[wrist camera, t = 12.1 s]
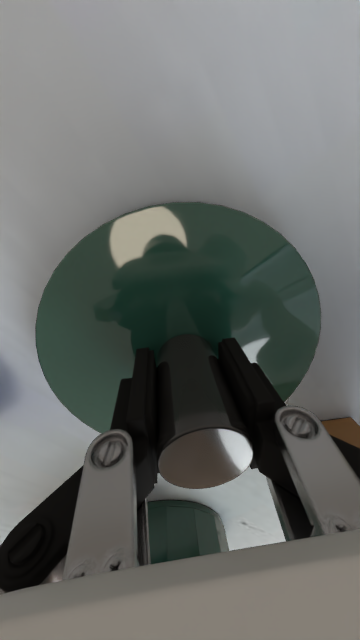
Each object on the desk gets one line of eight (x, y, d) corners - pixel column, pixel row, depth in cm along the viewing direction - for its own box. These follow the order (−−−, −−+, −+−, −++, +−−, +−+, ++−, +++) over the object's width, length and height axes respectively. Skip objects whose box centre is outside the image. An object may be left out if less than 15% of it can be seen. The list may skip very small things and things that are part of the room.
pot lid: (333, 190, 10) (596, 155, 4) (287, 417, 16) (362, 533, 10) (-5, 217, 9) (-302, 226, 3) (87, 445, 15) (45, 588, 9)
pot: (223, 472, 19) (259, 615, 12) (221, 561, 27) (242, 676, 20) (67, 496, 18) (15, 659, 12) (113, 580, 26) (99, 705, 20)
